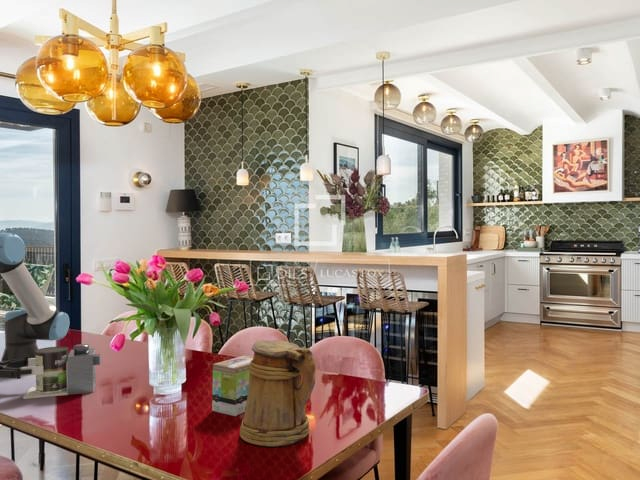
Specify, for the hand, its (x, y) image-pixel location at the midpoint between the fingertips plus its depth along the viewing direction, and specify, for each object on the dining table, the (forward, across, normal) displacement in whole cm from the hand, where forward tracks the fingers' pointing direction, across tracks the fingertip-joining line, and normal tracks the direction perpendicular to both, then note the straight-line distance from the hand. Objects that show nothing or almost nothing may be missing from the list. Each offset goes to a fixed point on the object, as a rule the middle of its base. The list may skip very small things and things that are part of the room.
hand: (46, 365), depth 187 cm
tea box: (+60, +41, -10) cm, 73 cm away
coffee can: (+2, 0, -9) cm, 9 cm away
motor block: (+11, 0, -9) cm, 15 cm away
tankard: (+65, +69, -10) cm, 95 cm away
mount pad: (+1, 0, -9) cm, 9 cm away
